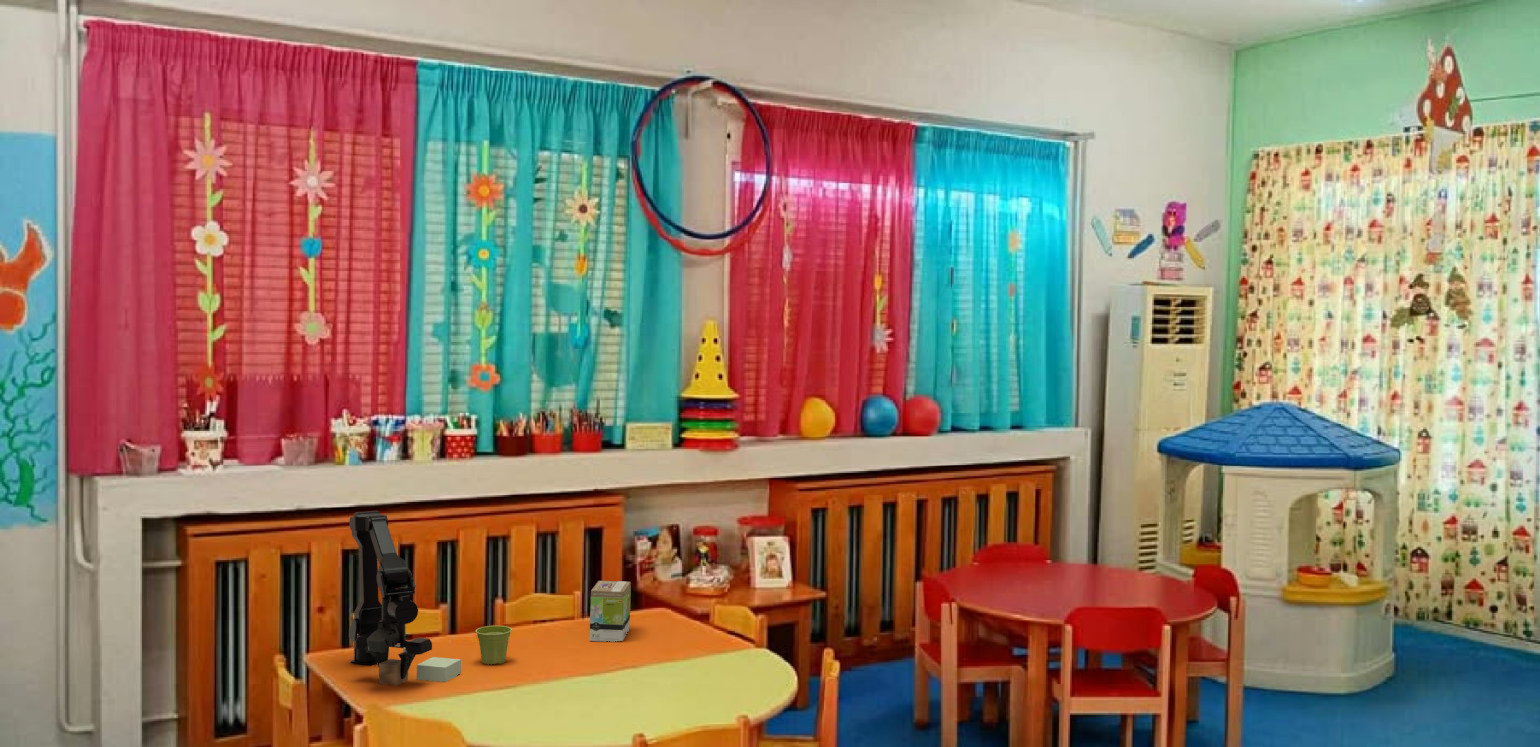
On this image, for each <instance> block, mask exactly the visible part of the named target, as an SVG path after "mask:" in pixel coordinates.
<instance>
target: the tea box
mask: <svg viewBox="0 0 1540 747" xmlns="http://www.w3.org/2000/svg"><path fill="white" fill-rule="evenodd" d="M631 585H632V583H631V581H621V580H619V581H618V580H617V581H616V580H614V581H613V580H597V582H596V583H595V585H594V586H593V587H592V589H590V590H591V591H590V609H589V610H590V612H589V614H590V616H589V635H588V636H589V639H588V640H589V641H590V642H606V641H608V642H609V641H610V643H611V642H612V643H614V642H615V641H616V642H615V643H618V642H617V641H622V642H623V641H624V640H625V638H626V636H627V635H628V633H629V630H630V625H631V620H630V619H631V592H632V591H631V590H632V588H631V587H632V586H631ZM627 632H628V633H627ZM626 634H627V635H626Z"/></svg>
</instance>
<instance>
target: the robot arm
mask: <svg viewBox="0 0 1540 747" xmlns="http://www.w3.org/2000/svg"><path fill="white" fill-rule="evenodd" d="M348 521H349V530H350V531H351V536H352V539H353V540H354V541H355V542H356V544H357V545H358V565H359V567H358V568H359V597H360V598H359V602H358V604H357V606H356V608H355V610H354V612H353V613H354V617H353V619H352V622H351V625H350V627H349V629H348V637H349V640H351V641H352V642H354V643H353V645H354V646H353V649H354V650H353V651H354V652H353V654H354V655H353V658H354V659H352V660H350V664H356V665H357V664H358V665H364V666H365V665H367V666H373V665H376V664H377V667H378V668H379V664H380V663H382V662H384V661H387V660H389V654H390V648H398V649H402V652H401V653H398V654H397V656H399V660H401V679H404V678H405V676H406V674H407V672H408V673H409V669H410V667H411V665H412V663H413V661H414V659H415V657H416V656H417V655H419V656H420V655H423V654H425V653H427V652H429V651H431V650H433V642H432V640H431V639H430V638H424V637H416V638H414V639H411V640H408V639H409V633H406V632H407V631H406V630H407V629H406V625H408V624H411V623H412V622H414V621H415V620H416V619H417V617H418V615H419V608H418V606H417V603H415V602H414V601H412V600H411V595H415V593H416V591H415V589H416V583H415V580H414V576H413V574H412V572H411V570H410V568H409V567H408V566H407V563H406V560H405V559H404V558H401V556H399V555H398V554H397V550H396V547H395V544H394V541H393V538H392V534H391V531H390V528H389V518H388V515H387V514H381V512H380V511H378V510H372V511H371V510H370V511H358V512H354V513H353V516H350V518H349V520H348ZM379 592H380V594H381V601H380V600H379V598H380V597H379Z"/></svg>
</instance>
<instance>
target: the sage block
mask: <svg viewBox="0 0 1540 747" xmlns="http://www.w3.org/2000/svg"><path fill="white" fill-rule="evenodd" d="M460 673H461V674H462V659H460V658H448V657H438V656H437V657H436V656H432V657H430V658H428V659H426V660H424V661H423V662H422V661H421V662H420V663H418V664H417V665H416V681H417V680H419V681H426V680H428V682H437V681H439V683H447V682H449V681H451V680H452V678H453V677H454V678H456V677H458V676H459V675H458V674H460ZM461 674H460V675H461ZM457 675H458V676H457ZM455 676H456V677H455ZM454 678H453V679H454ZM450 679H451V680H450ZM448 680H449V681H448Z"/></svg>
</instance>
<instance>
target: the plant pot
mask: <svg viewBox="0 0 1540 747" xmlns="http://www.w3.org/2000/svg"><path fill="white" fill-rule="evenodd" d="M511 632H513V628H512V627H510V626H507V625H487V626H481V627H478V628H477V629H475V634H476V636H477V639H478V644H479V651H480V657H481V658H480V659H481V662H482V663H483V664H484V665H489V664H491V665H490V666H493V665H492V664H494V665H496V664H500V665H501V663H502V664H503V663H505V662H506V658H507V652H508V646H509V639H510V636H511Z"/></svg>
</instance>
